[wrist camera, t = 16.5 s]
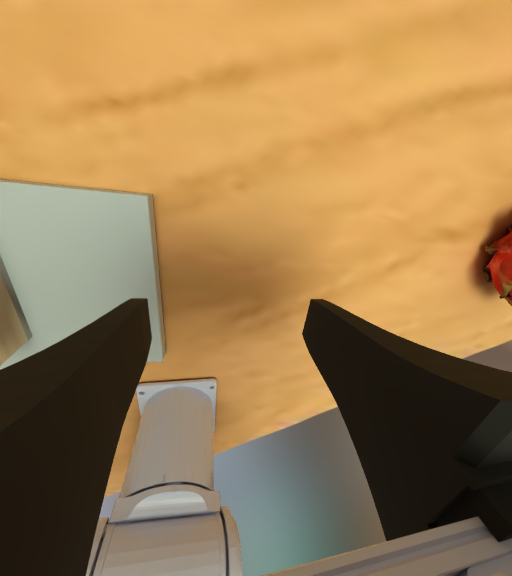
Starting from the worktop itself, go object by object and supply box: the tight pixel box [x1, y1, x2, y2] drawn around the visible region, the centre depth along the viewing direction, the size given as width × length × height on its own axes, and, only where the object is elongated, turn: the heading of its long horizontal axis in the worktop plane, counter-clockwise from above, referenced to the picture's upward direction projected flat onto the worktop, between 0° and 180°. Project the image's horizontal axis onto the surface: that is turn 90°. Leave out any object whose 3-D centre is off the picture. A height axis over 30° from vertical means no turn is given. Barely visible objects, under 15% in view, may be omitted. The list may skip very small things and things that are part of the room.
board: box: [0, 179, 166, 370], centre depth 16 cm, size 14×20×2 cm
